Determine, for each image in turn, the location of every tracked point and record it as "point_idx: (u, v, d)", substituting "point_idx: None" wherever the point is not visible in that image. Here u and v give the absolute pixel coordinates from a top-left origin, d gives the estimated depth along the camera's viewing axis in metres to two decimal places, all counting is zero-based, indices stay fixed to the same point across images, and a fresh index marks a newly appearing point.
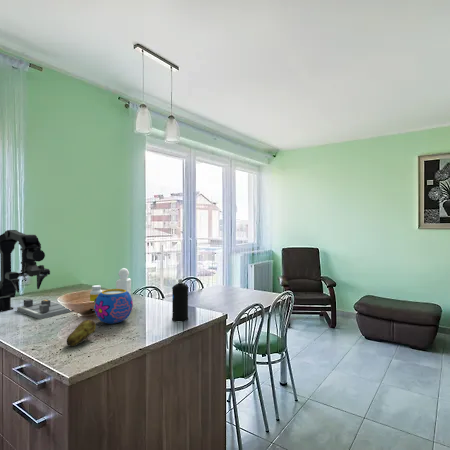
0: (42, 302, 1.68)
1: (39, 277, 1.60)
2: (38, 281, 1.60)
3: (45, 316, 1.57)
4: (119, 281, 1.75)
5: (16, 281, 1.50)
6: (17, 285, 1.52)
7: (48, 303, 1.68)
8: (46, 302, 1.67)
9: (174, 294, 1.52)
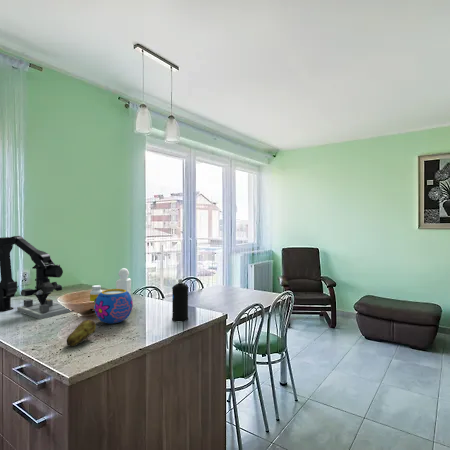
0: None
1: (43, 294, 1.68)
2: None
3: (45, 316, 1.57)
4: (119, 281, 1.75)
5: (40, 296, 1.65)
6: (41, 299, 1.66)
7: (50, 303, 1.69)
8: (48, 302, 1.68)
9: (174, 294, 1.52)
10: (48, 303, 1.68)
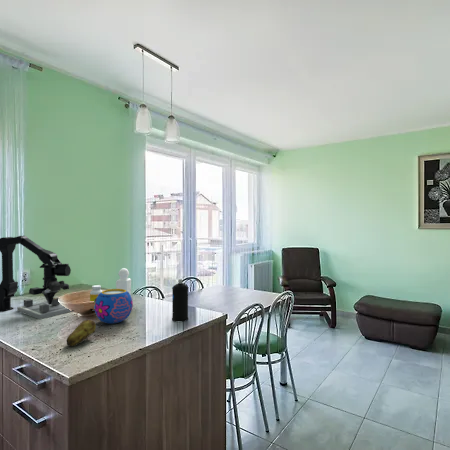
0: (52, 300, 1.72)
1: (51, 293, 1.71)
2: (50, 297, 1.71)
3: (45, 316, 1.57)
4: (119, 281, 1.75)
5: (48, 294, 1.68)
6: (49, 298, 1.69)
7: (57, 301, 1.72)
8: (56, 300, 1.72)
9: (174, 294, 1.52)
10: (55, 302, 1.71)
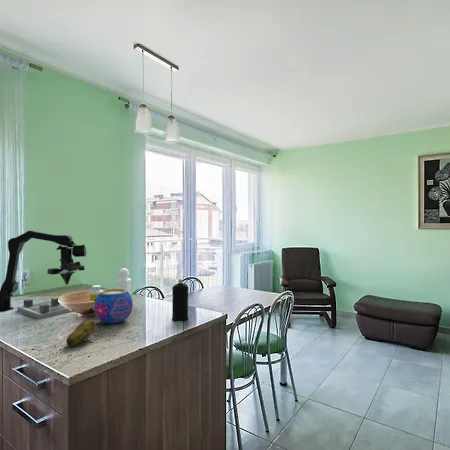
0: (52, 300, 1.72)
1: (68, 273, 1.78)
2: (67, 277, 1.78)
3: (45, 316, 1.57)
4: (119, 281, 1.75)
5: (65, 275, 1.75)
6: (66, 278, 1.76)
7: (57, 301, 1.72)
8: (56, 300, 1.72)
9: (174, 294, 1.52)
10: (55, 302, 1.71)
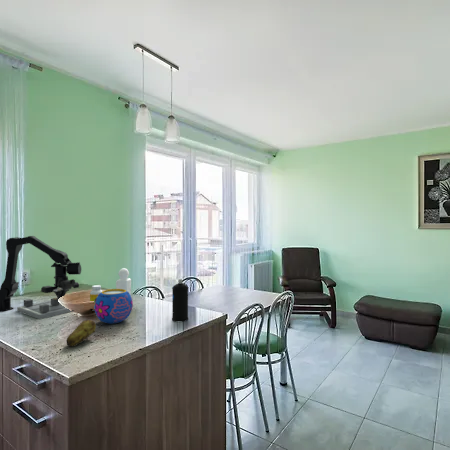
0: (51, 300, 1.72)
1: (62, 291, 1.76)
2: (61, 295, 1.76)
3: (45, 316, 1.57)
4: (119, 281, 1.75)
5: (59, 293, 1.73)
6: (60, 296, 1.74)
7: (57, 301, 1.72)
8: (55, 300, 1.71)
9: (174, 294, 1.52)
10: (55, 302, 1.71)
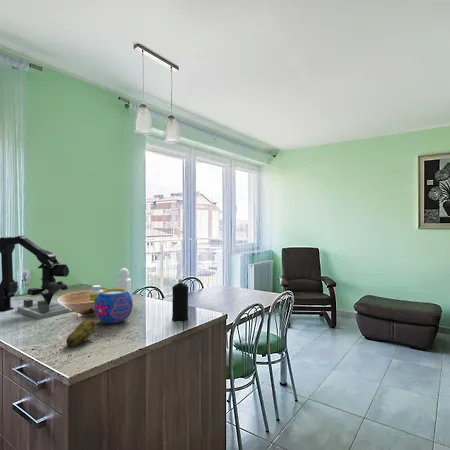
0: (38, 303, 1.66)
1: None
2: None
3: (45, 316, 1.57)
4: (119, 281, 1.75)
5: (46, 295, 1.67)
6: (47, 298, 1.69)
7: None
8: (42, 303, 1.66)
9: (174, 294, 1.52)
10: (42, 304, 1.66)
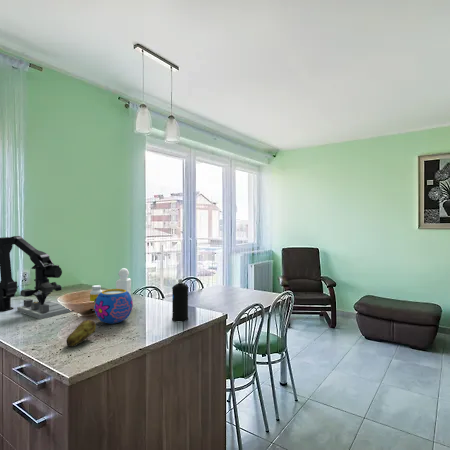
0: (32, 304, 1.64)
1: (43, 294, 1.67)
2: (42, 298, 1.67)
3: (45, 316, 1.57)
4: (119, 281, 1.75)
5: (40, 296, 1.65)
6: (41, 300, 1.66)
7: (38, 305, 1.64)
8: (36, 304, 1.63)
9: (174, 294, 1.52)
10: (35, 306, 1.63)
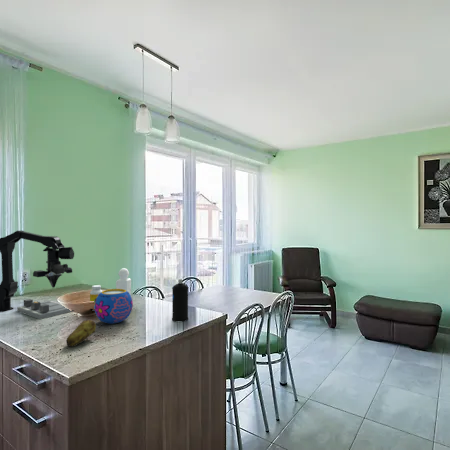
0: (32, 304, 1.64)
1: None
2: None
3: (45, 316, 1.57)
4: (119, 281, 1.75)
5: (52, 277, 1.69)
6: (52, 281, 1.71)
7: (38, 305, 1.64)
8: (36, 304, 1.63)
9: (174, 294, 1.52)
10: (36, 306, 1.63)
